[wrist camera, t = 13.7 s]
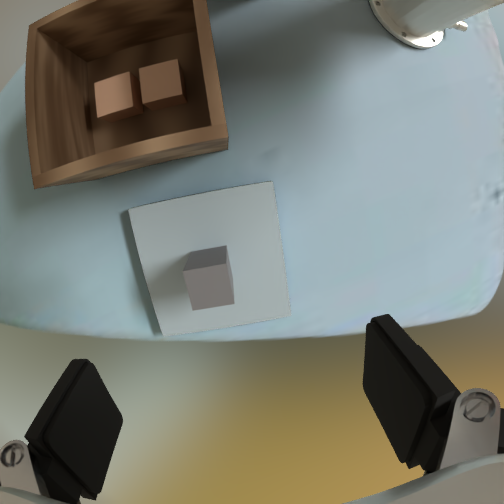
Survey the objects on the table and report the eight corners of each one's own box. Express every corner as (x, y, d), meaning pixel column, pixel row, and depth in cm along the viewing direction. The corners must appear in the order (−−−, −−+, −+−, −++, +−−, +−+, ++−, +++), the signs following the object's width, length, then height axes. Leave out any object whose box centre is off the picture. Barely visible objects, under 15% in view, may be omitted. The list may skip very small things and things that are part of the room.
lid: (269, 180, 33) (283, 184, 25) (287, 307, 38) (303, 344, 30) (133, 206, 33) (106, 219, 25) (166, 327, 37) (153, 367, 29)
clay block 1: (139, 81, 28) (129, 71, 24) (143, 113, 29) (133, 106, 25) (107, 91, 28) (94, 83, 24) (111, 122, 29) (97, 117, 25)
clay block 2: (183, 70, 28) (177, 58, 24) (187, 102, 29) (182, 94, 25) (148, 79, 28) (138, 68, 24) (152, 110, 29) (142, 103, 25)
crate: (208, 26, 27) (200, -36, 15) (227, 149, 32) (228, 137, 19) (83, 60, 27) (29, 25, 14) (95, 179, 31) (34, 189, 19)
